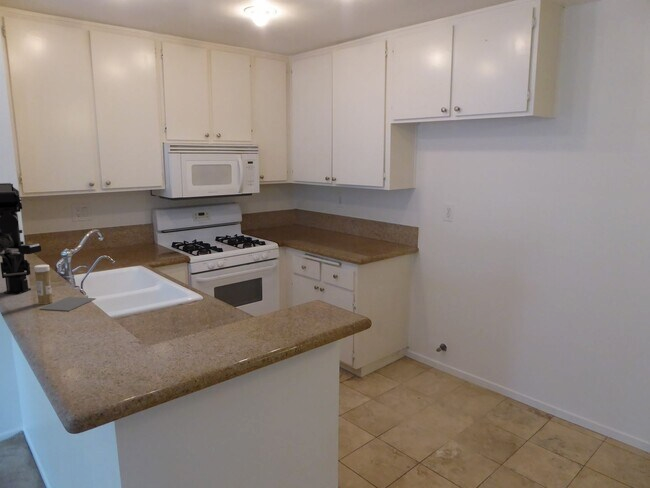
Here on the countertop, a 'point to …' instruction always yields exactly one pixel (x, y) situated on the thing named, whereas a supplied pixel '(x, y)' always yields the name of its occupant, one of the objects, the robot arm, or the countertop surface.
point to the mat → (67, 304)
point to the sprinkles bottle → (43, 284)
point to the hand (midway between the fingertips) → (14, 272)
